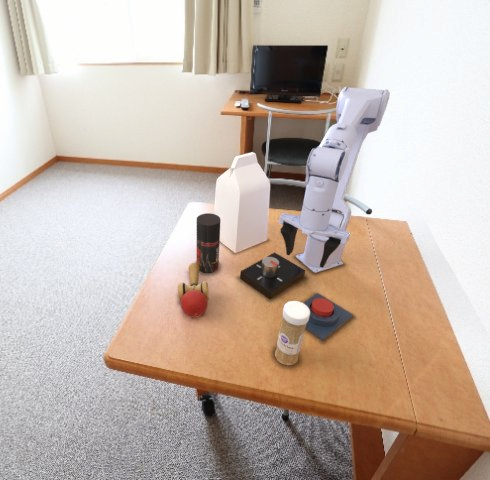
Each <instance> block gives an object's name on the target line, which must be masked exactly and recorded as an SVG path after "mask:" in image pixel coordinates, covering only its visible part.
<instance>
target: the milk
mask: <svg viewBox="0 0 490 480" xmlns="http://www.w3.org/2000/svg"><path fill="white" fill-rule="evenodd" d="M270 198H271V182H270V179H269V178H268V176H267V175H266V173H265V172H264V170H263V168H262V166H261V165H260V164H259V161H258V158H257V153H255V152H253V151H251V152H246V153H244V154H240V155H237V156H234V158H233V160H232V163H231V164H230V167H229V168H228V169H227V170H226V171H225V172H223V173H221V175H220V176H218V177H217V179H216V182H215V193H214V205H213V214H215V215H218V216H219V217H220V220H221V221H220V243H221V244H223V245H224V246H225V247H227V248H228V249H229V250H231V252H233V253H234V254H237V253H240V252H242V251H244V250H246V249H250V248H252V247H254V246H257V245H259V244H262V243H264V242H267V241H268V233H269V216H270V215H269V214H270Z"/></svg>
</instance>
